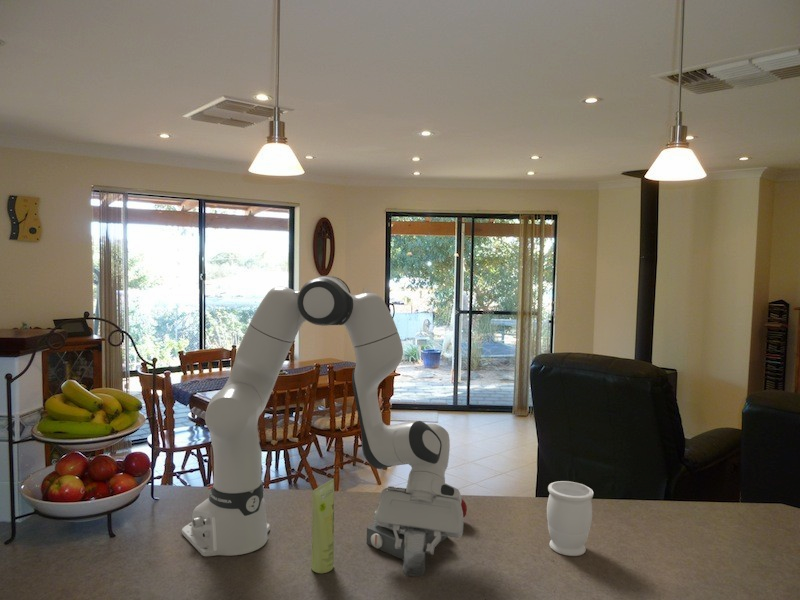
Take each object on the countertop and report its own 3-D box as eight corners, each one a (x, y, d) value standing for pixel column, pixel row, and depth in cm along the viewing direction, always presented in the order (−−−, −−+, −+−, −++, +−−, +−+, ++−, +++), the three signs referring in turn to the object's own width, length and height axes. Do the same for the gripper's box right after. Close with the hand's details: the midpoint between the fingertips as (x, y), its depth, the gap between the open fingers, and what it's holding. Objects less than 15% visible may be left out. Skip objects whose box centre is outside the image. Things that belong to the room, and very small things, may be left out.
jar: (592, 544, 145) (595, 485, 144) (587, 563, 136) (590, 501, 135) (549, 534, 150) (552, 477, 148) (541, 552, 140) (544, 491, 139)
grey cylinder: (398, 571, 130) (400, 532, 129) (411, 562, 134) (413, 524, 133) (416, 579, 127) (417, 539, 126) (428, 570, 131) (430, 531, 130)
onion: (465, 529, 151) (466, 499, 151) (443, 526, 152) (444, 496, 152) (467, 519, 157) (468, 490, 156) (445, 516, 158) (446, 487, 157)
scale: (364, 544, 141) (364, 528, 141) (406, 521, 155) (407, 506, 154) (406, 563, 133) (407, 546, 133) (447, 537, 146) (448, 521, 146)
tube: (335, 574, 128) (336, 488, 127) (311, 576, 127) (313, 489, 125) (332, 561, 134) (333, 478, 132) (309, 563, 132) (311, 479, 131)
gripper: (380, 479, 139) (366, 538, 130) (465, 491, 133) (457, 553, 125) (384, 490, 143) (371, 548, 134) (467, 502, 138) (460, 562, 129)
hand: (413, 550), depth 130 cm, fingers open, 6 cm apart
